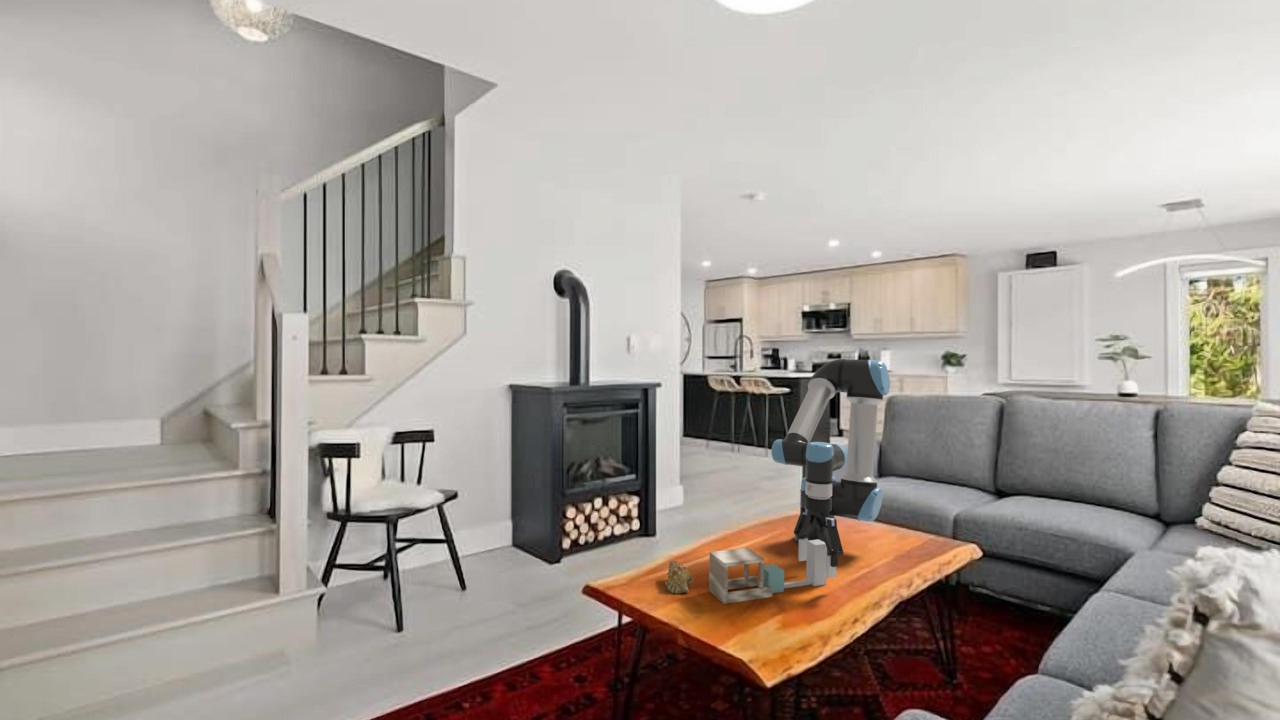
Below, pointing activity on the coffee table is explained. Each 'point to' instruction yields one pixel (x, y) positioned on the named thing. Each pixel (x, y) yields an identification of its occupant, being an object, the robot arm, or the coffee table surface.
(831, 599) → the coffee table surface
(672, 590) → the seashell
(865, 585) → the coffee table surface
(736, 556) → the shelf
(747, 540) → the coffee table surface
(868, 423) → the robot arm
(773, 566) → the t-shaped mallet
